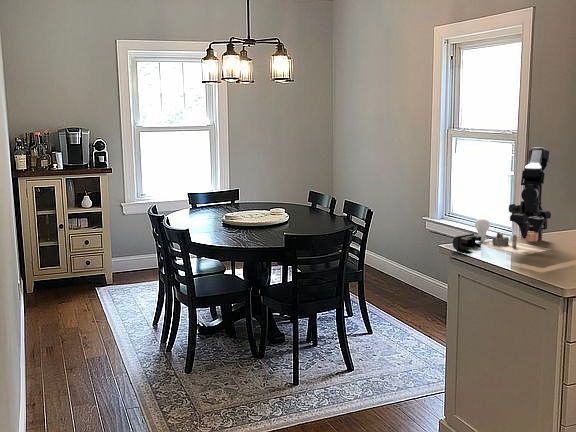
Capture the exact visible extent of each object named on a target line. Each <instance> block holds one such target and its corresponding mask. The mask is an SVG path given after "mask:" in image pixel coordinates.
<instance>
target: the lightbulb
mask: <svg viewBox="0 0 576 432" xmlns="http://www.w3.org/2000/svg"><path fill="white" fill-rule="evenodd" d="M490 226H491V224H490V220H488V219H487V218H485V217H480V218H477V219H476V221H475V223H474V227H475V228H476V231H477V236H479V237H481V241H479V242H480V243H485V241H486V236H487V232H488V230H489V229H490Z"/></svg>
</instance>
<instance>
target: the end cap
mask: <svg viewBox="0 0 576 432" xmlns="http://www.w3.org/2000/svg"><path fill="white" fill-rule="evenodd" d="M476 241H479V242H480V241H481V237H479V236H478V235H475V233H474V232H473V233H467V234H464V235H463V234H462V235H457V236H455V237H454V238H453V239H452V247H453V248H454V250H456V252H458V253H459V254H466V255H468V254H472V253H474V251H471V250H472V248H473V249H480V248H481V247H482V246H481V244H482V243H479V242H476Z"/></svg>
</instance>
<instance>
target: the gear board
mask: <svg viewBox="0 0 576 432" xmlns="http://www.w3.org/2000/svg"><path fill="white" fill-rule="evenodd" d="M517 238H518V236H517V234H515V233H514V234H513V235H512V240H510V237H509V236H505V235H503V233H500V232H496V235H494V236H492V241H488V242H481V243H480V244H481V247H486V248H491V249H494V250H498V251H499V250H500V251H503V252H508V253H512V254H519V255H523V256H528V255H531V254H536V253H541V252H546V251H551V250H552V248H546V247H543V246H537V245H532V244H527V243H521V242H518V241H517V240H518V239H517Z"/></svg>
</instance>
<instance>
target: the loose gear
mask: <svg viewBox="0 0 576 432" xmlns="http://www.w3.org/2000/svg"><path fill="white" fill-rule="evenodd" d="M520 240H521V241H524V242H531V243H532V242H538V241H539V240H538V233H537V232H534V231H528V232H527V236H526V238H523V237H522V234H521V233H520Z"/></svg>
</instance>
